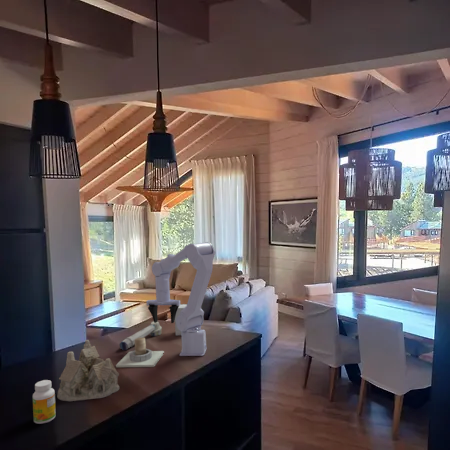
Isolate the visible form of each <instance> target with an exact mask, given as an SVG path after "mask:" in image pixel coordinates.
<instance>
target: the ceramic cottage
mask: <svg viewBox="0 0 450 450" xmlns="http://www.w3.org/2000/svg"><path fill="white" fill-rule="evenodd" d="M84 341H85V343H84V344H83V349H80V350H81V352H80V354H79V358H78V360H77V359H76V358H75V353H74V351H68V352H67V355H66V362H65V367H64V369H63V371H62V372H61V374H60V377H59V378H58V380H60V383H59V388H58V390H57V395H56V397H57V399H58V400H60V401H64V402H73V401H74V402H76V401H85V400H93V399H96V400H97V399H102V398H105V397H106V398H107V397H108V396H111V395H112V394H113V393H116V392H118V391H119V390H120V385H119V384H118V382H119V381H118V379H119V378H118V377H119V376H120V373H119V372H118V371H117V369H116V367H115V366H114V364H113V362H112V359H111V358H106V359H105V360H104V358H100V354H99V353H98V349H96V346H95V345H93V346H92V344H91V342H90V339H85V340H84Z"/></svg>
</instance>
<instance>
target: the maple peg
mask: <svg viewBox="0 0 450 450" xmlns="http://www.w3.org/2000/svg"><path fill="white" fill-rule="evenodd" d="M146 347H147V345H146V337H144V338H136V339H135V344H134V350H135V355H144V354H146V349H147V348H146Z"/></svg>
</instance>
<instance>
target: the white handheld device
mask: <svg viewBox="0 0 450 450" xmlns="http://www.w3.org/2000/svg"><path fill="white" fill-rule="evenodd" d="M161 334H162V326H161V325H160V322H159V321H158V322H156V323H154V320H153V321H151V323H150V324H149V325H148V326H146V327H144V328H143V329H141V330H139V331H137V332H135V333H134V334H132V335H130V336H128V337H125V338H124V340H121V341H120V343H119V349H122V350H121V351H127V350H129V349H130V347H131V348H133V346H135V339H136V338H146V337H147V336H149V335H150V336H151V337H157V336H160V335H161ZM128 348H129V349H128Z"/></svg>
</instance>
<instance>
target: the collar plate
mask: <svg viewBox="0 0 450 450" xmlns="http://www.w3.org/2000/svg"><path fill="white" fill-rule="evenodd" d="M163 353H164V354H165V351H164V350H151V349H149V348H146V354H144V355H135V349H134V350H132V351H131V350H130V351H128V352H127V354H125V355H124V356H123V357H122V359H120V360H119V361H118V362H117V364H115V368H154V367H155V366H156V365H157V363H158V362H159V361H160V360H161V358H162V357H163V355H164V354H163Z"/></svg>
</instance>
